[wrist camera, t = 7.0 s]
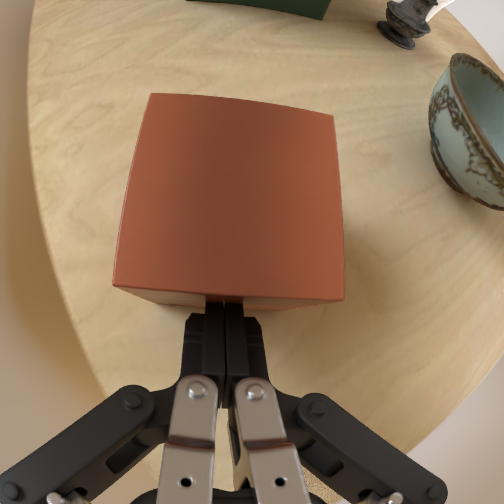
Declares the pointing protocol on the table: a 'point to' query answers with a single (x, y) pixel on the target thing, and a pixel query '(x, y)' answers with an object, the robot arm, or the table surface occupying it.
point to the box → (286, 6)
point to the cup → (442, 2)
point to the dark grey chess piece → (406, 21)
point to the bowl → (469, 130)
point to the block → (232, 206)
